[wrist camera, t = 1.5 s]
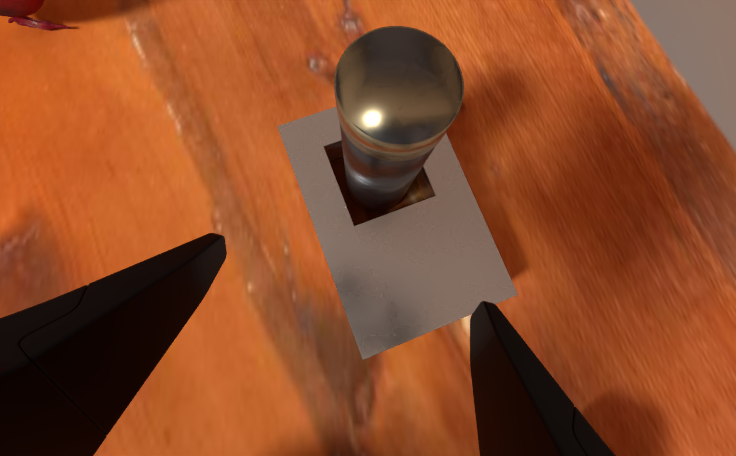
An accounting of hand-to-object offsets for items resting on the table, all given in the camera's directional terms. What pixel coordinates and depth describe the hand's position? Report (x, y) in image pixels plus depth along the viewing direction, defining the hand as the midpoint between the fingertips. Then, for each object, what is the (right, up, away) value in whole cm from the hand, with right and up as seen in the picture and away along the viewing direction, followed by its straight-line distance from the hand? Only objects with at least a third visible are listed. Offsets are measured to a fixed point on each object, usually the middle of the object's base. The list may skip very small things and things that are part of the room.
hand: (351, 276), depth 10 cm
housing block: (+2, +3, +14) cm, 14 cm away
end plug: (+1, +5, +14) cm, 15 cm away
